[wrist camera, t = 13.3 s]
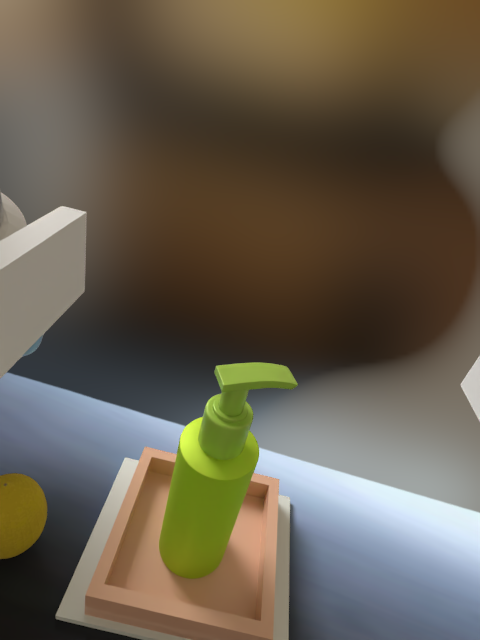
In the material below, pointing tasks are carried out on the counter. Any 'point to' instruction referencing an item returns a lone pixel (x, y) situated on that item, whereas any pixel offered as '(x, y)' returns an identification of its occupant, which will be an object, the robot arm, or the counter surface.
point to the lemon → (20, 514)
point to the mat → (76, 591)
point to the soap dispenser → (214, 471)
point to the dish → (178, 592)
